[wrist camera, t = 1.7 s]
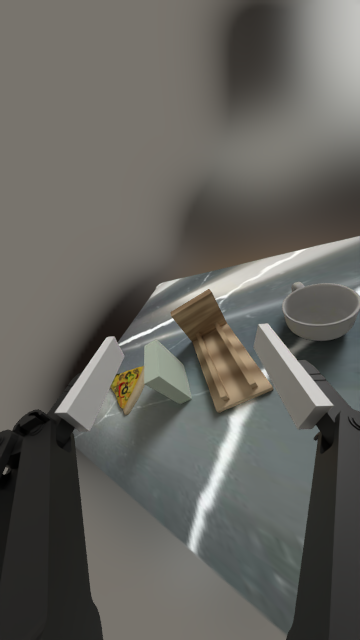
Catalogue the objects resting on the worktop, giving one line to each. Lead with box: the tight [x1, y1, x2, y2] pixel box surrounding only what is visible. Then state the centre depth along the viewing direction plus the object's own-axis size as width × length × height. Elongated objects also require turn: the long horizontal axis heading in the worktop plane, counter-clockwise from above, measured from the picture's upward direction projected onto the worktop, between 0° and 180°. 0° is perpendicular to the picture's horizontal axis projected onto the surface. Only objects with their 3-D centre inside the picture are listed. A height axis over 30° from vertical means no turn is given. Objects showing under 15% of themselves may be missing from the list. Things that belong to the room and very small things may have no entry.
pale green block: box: [144, 340, 192, 404], centre depth 36 cm, size 10×4×14 cm, turn 12°
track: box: [171, 289, 273, 413], centre depth 34 cm, size 22×12×14 cm, turn 12°
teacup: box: [282, 282, 360, 341], centre depth 31 cm, size 14×11×8 cm
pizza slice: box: [110, 366, 145, 415], centre depth 51 cm, size 16×21×3 cm
